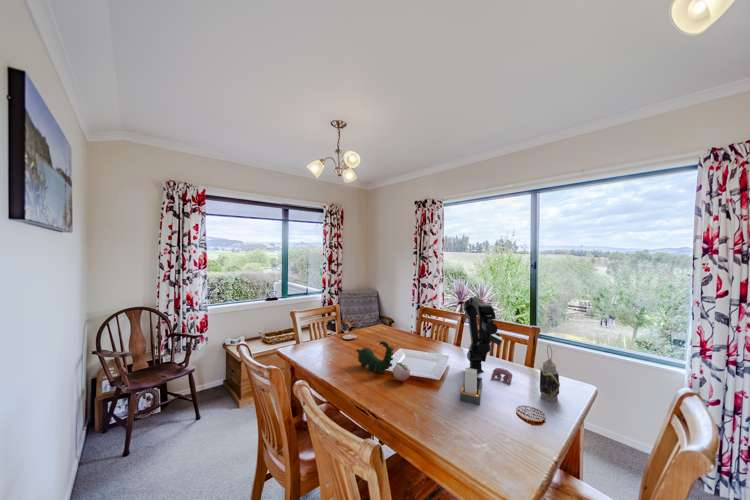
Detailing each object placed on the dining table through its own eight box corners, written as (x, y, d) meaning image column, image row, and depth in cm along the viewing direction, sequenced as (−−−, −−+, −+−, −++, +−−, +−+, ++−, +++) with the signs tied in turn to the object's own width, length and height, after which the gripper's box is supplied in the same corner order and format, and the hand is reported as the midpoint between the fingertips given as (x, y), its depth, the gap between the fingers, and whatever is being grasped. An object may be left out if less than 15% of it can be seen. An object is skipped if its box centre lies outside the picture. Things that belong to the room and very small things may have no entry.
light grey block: (465, 393, 134) (465, 367, 134) (476, 395, 132) (476, 369, 132) (464, 397, 130) (464, 371, 130) (476, 400, 128) (476, 373, 128)
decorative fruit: (389, 381, 149) (389, 362, 148) (398, 375, 155) (398, 357, 154) (403, 387, 142) (403, 367, 142) (412, 381, 148) (412, 362, 148)
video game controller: (512, 385, 147) (514, 371, 149) (509, 384, 144) (511, 370, 146) (492, 379, 154) (494, 366, 156) (490, 378, 151) (492, 365, 153)
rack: (464, 381, 148) (464, 374, 148) (482, 384, 145) (482, 377, 145) (460, 401, 129) (460, 392, 129) (480, 405, 126) (480, 396, 126)
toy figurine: (394, 374, 160) (359, 360, 174) (397, 342, 159) (362, 330, 173) (385, 380, 152) (350, 365, 167) (388, 346, 151) (352, 334, 165)
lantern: (537, 392, 138) (537, 341, 137) (556, 394, 135) (556, 343, 135) (542, 401, 129) (542, 347, 129) (562, 404, 127) (563, 349, 127)
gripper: (501, 335, 135) (501, 368, 135) (501, 325, 152) (501, 354, 152) (477, 332, 139) (476, 364, 139) (479, 323, 156) (479, 351, 156)
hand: (484, 358), depth 146 cm, fingers open, 9 cm apart
